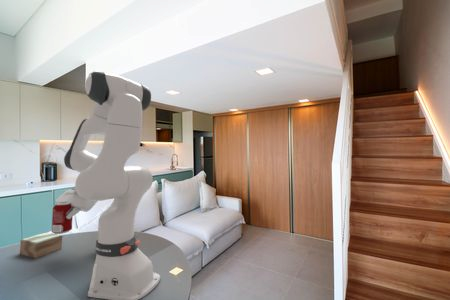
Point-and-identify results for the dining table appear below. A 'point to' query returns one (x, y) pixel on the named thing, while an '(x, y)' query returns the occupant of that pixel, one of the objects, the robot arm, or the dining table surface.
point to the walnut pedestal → (40, 244)
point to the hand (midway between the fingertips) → (61, 216)
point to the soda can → (61, 218)
